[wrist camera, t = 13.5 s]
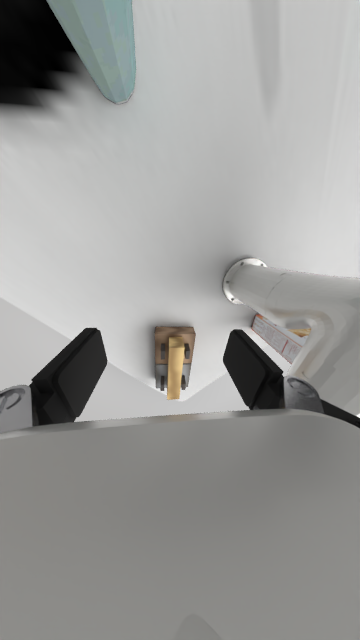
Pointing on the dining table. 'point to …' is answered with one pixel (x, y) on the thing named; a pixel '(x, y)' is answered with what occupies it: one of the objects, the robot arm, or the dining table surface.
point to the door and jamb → (163, 348)
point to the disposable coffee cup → (102, 42)
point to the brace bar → (175, 367)
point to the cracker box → (281, 337)
